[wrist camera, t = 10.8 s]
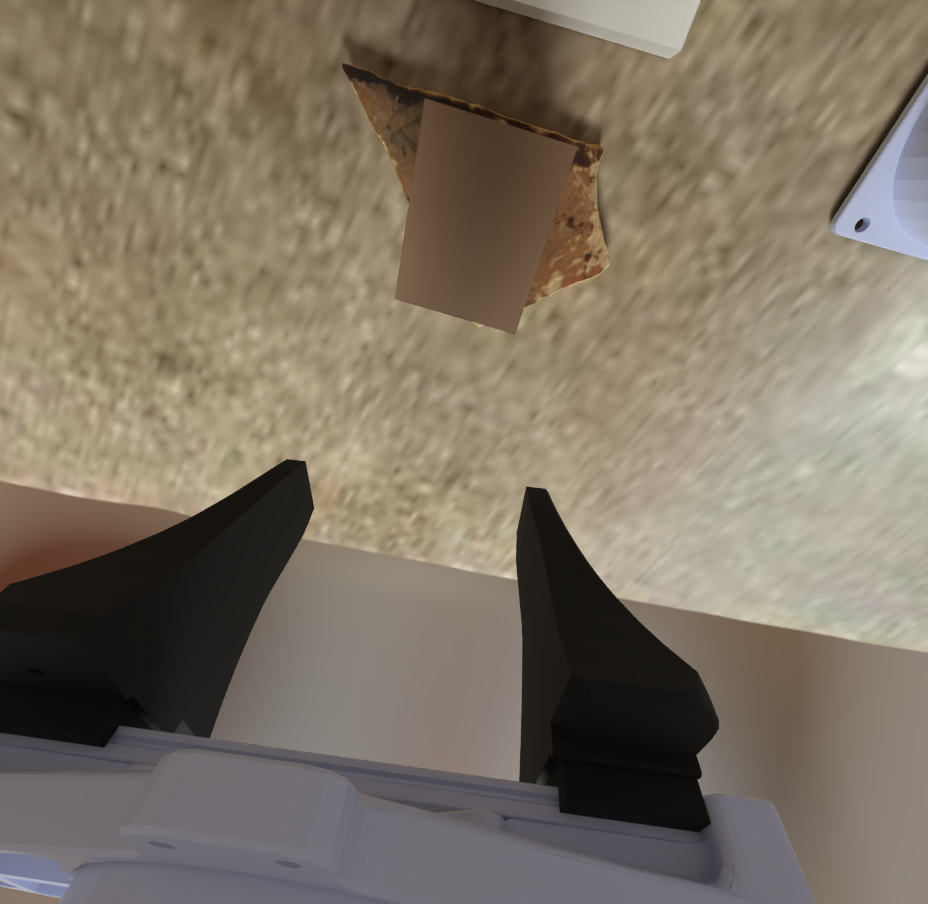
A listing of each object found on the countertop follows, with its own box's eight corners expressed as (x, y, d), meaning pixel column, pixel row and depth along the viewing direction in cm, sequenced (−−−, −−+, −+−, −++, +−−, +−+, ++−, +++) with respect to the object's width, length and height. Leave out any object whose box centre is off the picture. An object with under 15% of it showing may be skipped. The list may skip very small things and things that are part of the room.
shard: (352, 72, 16) (336, 61, 14) (538, -71, 14) (542, -102, 12) (473, 325, 21) (471, 336, 19) (624, 253, 19) (635, 260, 17)
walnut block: (559, 155, 15) (577, 146, 10) (516, 290, 18) (515, 334, 13) (456, 122, 15) (424, 98, 10) (429, 264, 18) (394, 299, 13)
